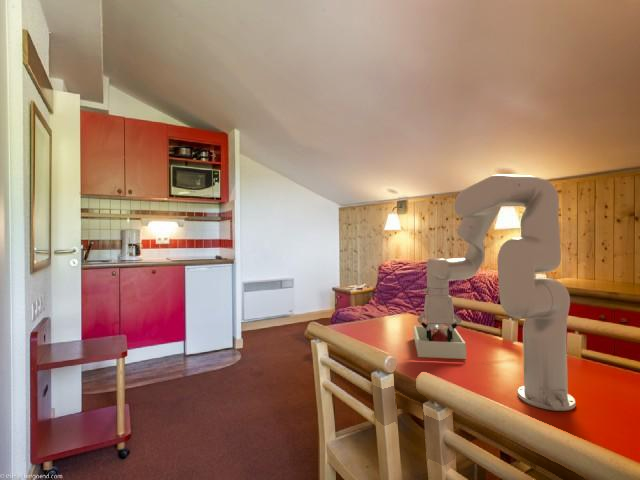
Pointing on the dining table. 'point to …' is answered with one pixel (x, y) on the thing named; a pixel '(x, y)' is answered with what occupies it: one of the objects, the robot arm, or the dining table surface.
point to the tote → (439, 345)
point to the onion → (439, 336)
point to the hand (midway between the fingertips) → (439, 340)
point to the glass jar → (436, 328)
